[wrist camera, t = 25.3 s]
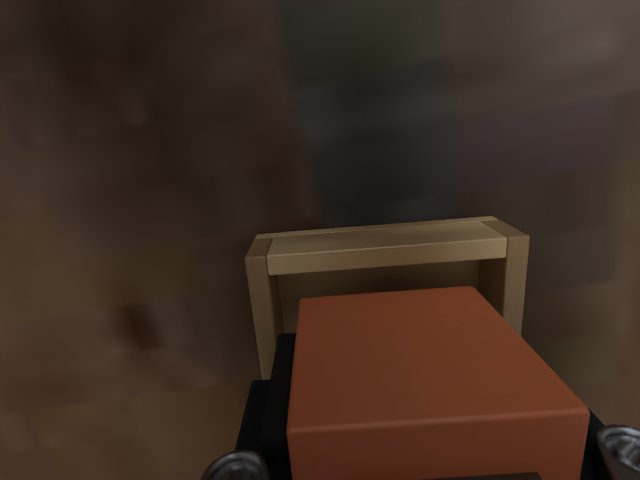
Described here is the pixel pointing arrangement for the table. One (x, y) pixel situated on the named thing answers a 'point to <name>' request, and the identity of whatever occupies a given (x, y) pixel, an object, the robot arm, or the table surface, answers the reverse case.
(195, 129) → the table surface
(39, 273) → the table surface
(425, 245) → the wooden tray
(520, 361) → the terracotta block
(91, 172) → the table surface
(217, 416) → the table surface
